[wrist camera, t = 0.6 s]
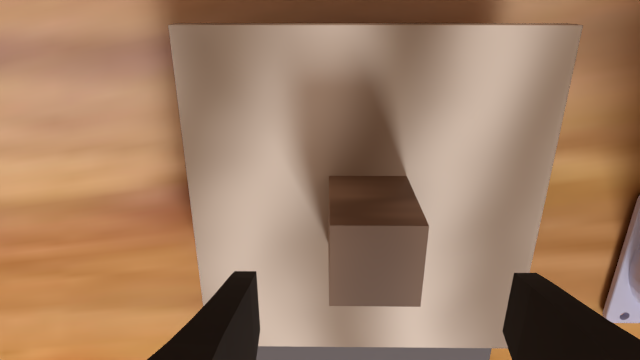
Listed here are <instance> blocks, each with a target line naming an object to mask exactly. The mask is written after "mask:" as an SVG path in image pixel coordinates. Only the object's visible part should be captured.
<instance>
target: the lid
mask: <svg viewBox="0 0 640 360" xmlns="http://www.w3.org/2000/svg"><path fill="white" fill-rule="evenodd" d="M168 28H169V36H170V44H171V52H172V60H173V68H174V76H175V84H176V92H177V100H178V108H179V116H180V124H181V132H182V140H183V148H184V156H185V164H186V172H187V180H188V188H189V196H190V204H191V212H192V220H193V228H194V236H195V244H196V252H197V260H198V268H199V276H200V284H201V292H202V300H203V306H204V305H205V304H206V303H207V302H208V301H209V300H210V299H211V298H212V296H213V295H214V294H215V293H216V292H217V291H218V290H219V288H220V287H221V286H222V285H223V284H224V282H225V281H226V280H227V279H228V278H229V276H230V275H231V274H232V273H233V272H234V271H256V274H257V289H258V304H259V319H260V335H259V343H258V346H290V347H409V348H508V346H507V343H506V340H505V337H504V335H503V332H502V330H503V325H504V320H505V315H506V310H507V305H508V300H509V295H510V290H511V285H512V280H513V275H514V273H529V272H530V268H531V263H532V258H533V254H534V249H535V245H536V240H537V235H538V231H539V226H540V222H541V217H542V212H543V208H544V203H545V199H546V194H547V189H548V185H549V180H550V175H551V171H552V166H553V162H554V157H555V152H556V148H557V143H558V139H559V134H560V129H561V125H562V120H563V116H564V111H565V106H566V102H567V97H568V92H569V88H570V83H571V79H572V74H573V69H574V65H575V60H576V56H577V51H578V46H579V42H580V37H581V33H582V28H583V25H577V24H568V23H176V24H170V25H168Z"/></svg>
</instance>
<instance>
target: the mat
mask: <svg viewBox="0 0 640 360" xmlns="http://www.w3.org/2000/svg"><path fill="white" fill-rule="evenodd" d="M490 353H491V348H409V347H290V346H258V350H257V357H256V360H489V359H490Z"/></svg>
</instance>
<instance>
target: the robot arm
mask: <svg viewBox="0 0 640 360" xmlns="http://www.w3.org/2000/svg"><path fill="white" fill-rule="evenodd" d="M622 313H624V314H622ZM621 314H622V315H621ZM603 316H604V317H603ZM603 316H601V315H600V314H598V313H597V312H595V311H593V310H592V309H590V308H589V307H587V306H586V305H584V304H583V303H582V302H580V301H579V300H577V299H576V298H574V297H573V296H571V295H570V294H568V293H567V292H565V291H564V290H562V289H561V288H559V287H558V286H556V285H555V284H553V283H552V282H550V281H549V280H547V279H545V278H544V277H542V276H540V275H539V274H537V273H514V275H513V280H512V285H511V290H510V295H509V300H508V305H507V310H506V315H505V320H504V325H503V330H502V332H503V335H504V337H505V340H506V343H507V346H508V349H509V352H510V355H511V357H512V360H640V339H638V338H636V337H635V336H633V335H631V334H630V333H628V332H626V331H625V330H623V329H621V328H620V327H618V326H617V325H615V324H613V323H640V195H639V197H638V199H637V202H636V205H635V208H634V212H633V215H632V218H631V221H630V225H629V228H628V231H627V234H626V238H625V241H624V244H623V248H622V251H621V254H620V257H619V261H618V264H617V267H616V270H615V274H614V277H613V280H612V284H611V287H610V290H609V293H608V297H607V300H606V303H605V306H604V310H603ZM259 335H260V319H259V304H258V289H257V274H256V271H234V272H233V273H232V274H231V275H230V276H229V278H228V279H227V280H226V281H225V282H224V284H223V285H222V286H221V287H220V288H219V290H218V291H217V292H216V293H215V294H214V295H213V296H212V298H211V299H210V300H209V301H208V302H207V303H206V304H205V305H204V306H203V307H202V309H201V310H200V311H199V312H198V313H197V314H196V315H195V316H194V317H193V318H192V319H191V320H190V321H189V322H188V323H187V324H186V325H185V326H184V327H183V328H182V329H181V330H180V331H179V332H178V333H177V334H176V335H175V336H174V337H173V338H172V339H171V340H170V341H168V342H167V343H166V344H165V345H164V346H163V347H162V348H161V349H159V350H158V351H157V352H156V353H155V354H153V355H152V356H151V357H150V358H148V359H147V360H256V357H257V350H258V343H259Z"/></svg>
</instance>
